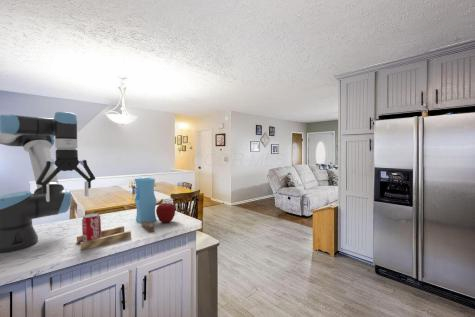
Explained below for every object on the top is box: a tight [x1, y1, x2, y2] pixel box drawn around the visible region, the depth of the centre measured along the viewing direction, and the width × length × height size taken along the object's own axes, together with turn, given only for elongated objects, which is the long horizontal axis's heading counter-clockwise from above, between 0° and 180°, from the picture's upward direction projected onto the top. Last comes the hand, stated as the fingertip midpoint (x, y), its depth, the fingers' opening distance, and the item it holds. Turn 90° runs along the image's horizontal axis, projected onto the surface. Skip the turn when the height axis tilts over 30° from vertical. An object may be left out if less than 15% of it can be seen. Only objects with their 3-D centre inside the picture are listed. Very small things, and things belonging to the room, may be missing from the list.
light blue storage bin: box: [134, 177, 157, 224], centre depth 136 cm, size 10×10×25 cm
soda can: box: [81, 212, 102, 242], centre depth 103 cm, size 7×7×13 cm
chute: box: [76, 225, 132, 251], centre depth 106 cm, size 20×12×3 cm, turn 133°
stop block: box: [141, 221, 156, 233], centre depth 120 cm, size 2×12×3 cm, turn 43°
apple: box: [155, 202, 176, 224], centre depth 132 cm, size 11×11×12 cm
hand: (68, 198), depth 97 cm, fingers open, 13 cm apart
